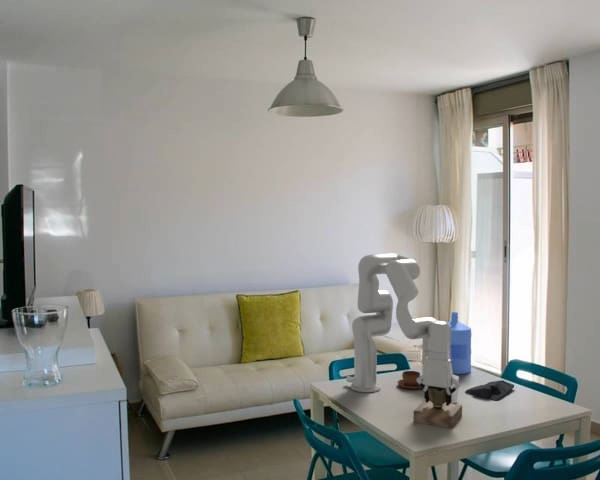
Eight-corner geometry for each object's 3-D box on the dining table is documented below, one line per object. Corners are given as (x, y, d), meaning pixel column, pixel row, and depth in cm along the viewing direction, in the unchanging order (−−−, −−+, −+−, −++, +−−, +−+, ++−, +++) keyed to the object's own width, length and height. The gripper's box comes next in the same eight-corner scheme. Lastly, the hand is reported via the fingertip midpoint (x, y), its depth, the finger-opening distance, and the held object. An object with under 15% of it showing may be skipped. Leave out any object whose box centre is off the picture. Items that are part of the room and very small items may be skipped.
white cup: (459, 404, 227) (459, 379, 227) (438, 403, 229) (438, 378, 228) (458, 398, 235) (458, 374, 234) (438, 397, 236) (438, 373, 236)
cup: (427, 410, 208) (428, 388, 208) (426, 403, 216) (427, 382, 215) (449, 411, 207) (449, 389, 207) (447, 404, 214) (447, 383, 214)
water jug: (446, 364, 289) (446, 309, 288) (476, 369, 279) (476, 312, 278) (431, 371, 277) (432, 313, 276) (463, 376, 267) (463, 316, 266)
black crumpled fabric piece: (520, 391, 246) (521, 380, 246) (495, 402, 231) (495, 391, 230) (487, 384, 257) (487, 373, 257) (461, 394, 242) (461, 383, 242)
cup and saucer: (392, 387, 251) (392, 373, 251) (406, 381, 260) (406, 368, 260) (416, 392, 243) (416, 378, 243) (430, 386, 252) (430, 372, 252)
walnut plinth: (413, 421, 209) (413, 410, 209) (425, 410, 221) (425, 399, 221) (452, 428, 202) (452, 416, 202) (462, 416, 214) (462, 405, 214)
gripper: (411, 354, 212) (411, 402, 212) (459, 360, 203) (459, 410, 204) (418, 350, 218) (418, 396, 219) (464, 355, 210) (464, 404, 210)
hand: (437, 402), depth 211 cm, fingers closed on cup, 6 cm apart
